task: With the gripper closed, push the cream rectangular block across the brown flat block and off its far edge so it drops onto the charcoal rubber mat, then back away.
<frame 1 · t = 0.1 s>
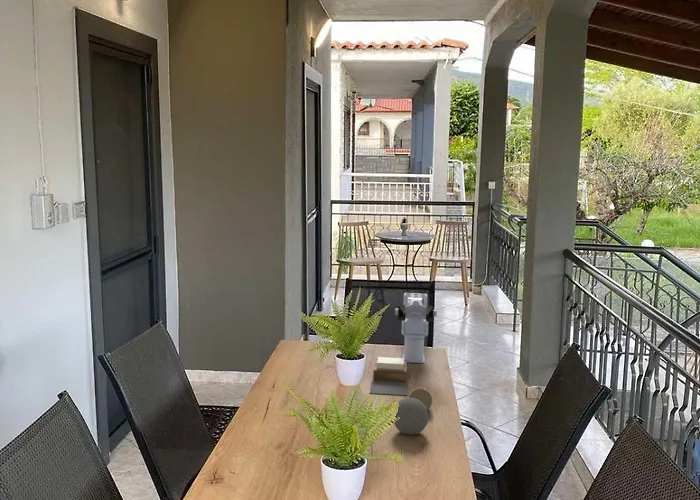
hand: (415, 317, 222), 22 cm above the table, tool horizontal, fingers open, 7 cm apart
mat: (389, 388, 215), on the table
tan short cylinder: (419, 407, 201), on the table
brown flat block: (390, 376, 226), on the table
cream rectangular block: (390, 366, 225), point 4 cm above the table, touching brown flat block
decorative ball: (409, 433, 183), on the table
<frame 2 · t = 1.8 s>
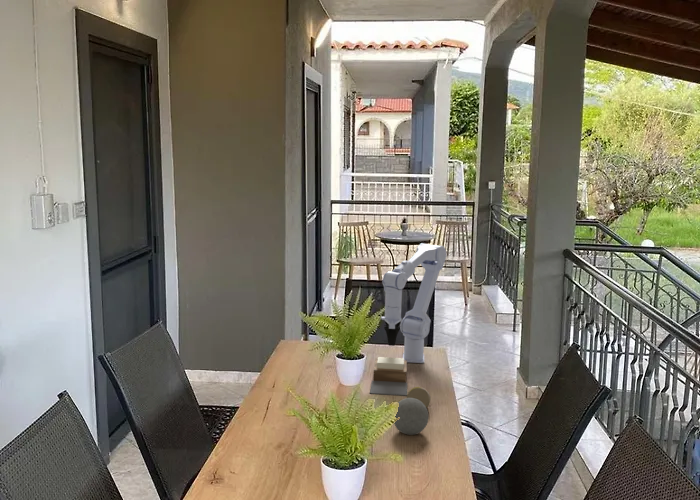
hand: (391, 343, 231), 10 cm above the table, tool pointing down, fingers open, 5 cm apart
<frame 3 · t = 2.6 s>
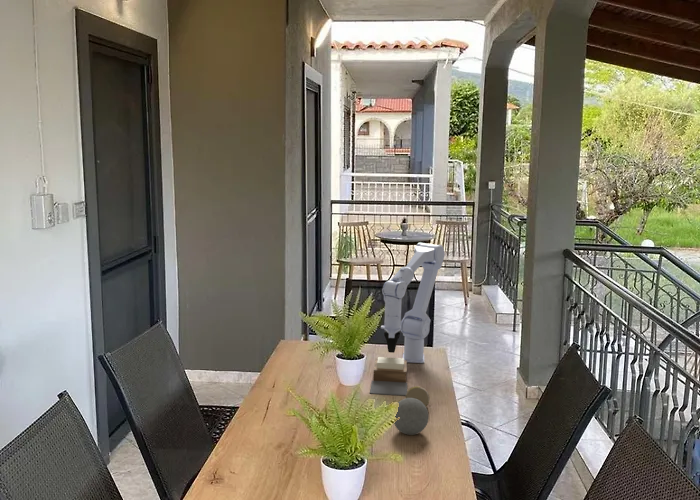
hand: (391, 351, 232), 7 cm above the table, tool pointing down, fingers closed
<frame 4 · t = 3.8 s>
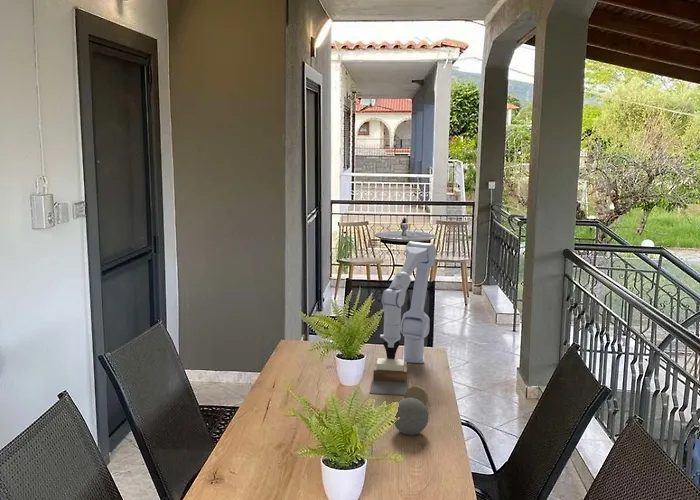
hand: (390, 361, 227), 5 cm above the table, tool pointing down, fingers closed
cream rectangular block: (390, 367, 224), point 4 cm above the table, touching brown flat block
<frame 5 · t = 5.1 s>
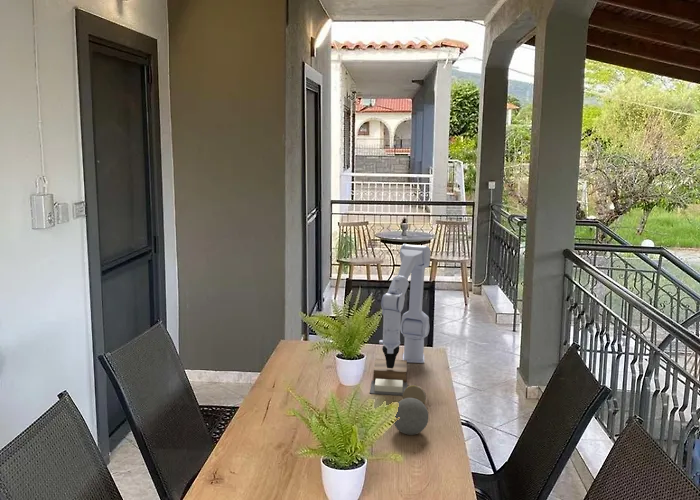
hand: (390, 367, 221), 5 cm above the table, tool pointing down, fingers closed
cream rectangular block: (388, 382, 214), point 2 cm above the table, tilted 180°, touching mat
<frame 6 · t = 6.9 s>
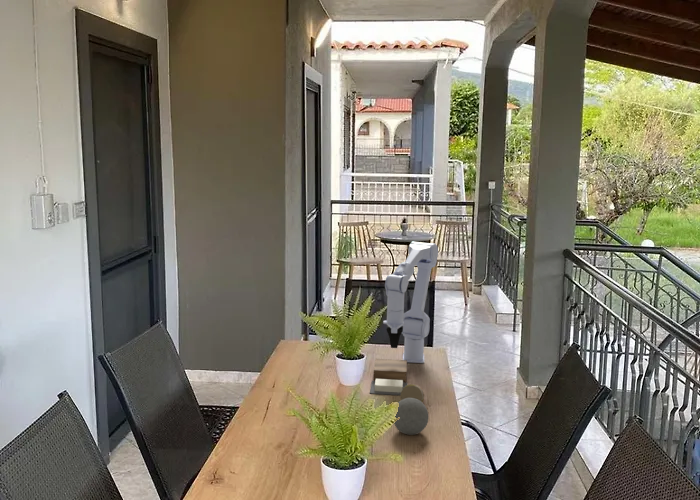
hand: (394, 347, 226), 10 cm above the table, tool pointing down, fingers closed
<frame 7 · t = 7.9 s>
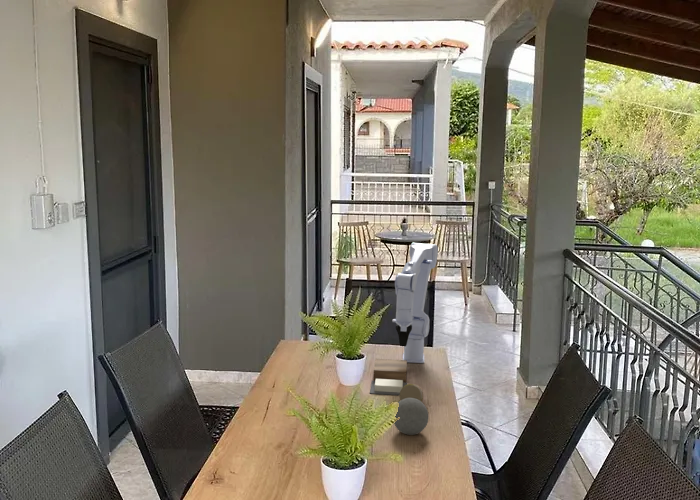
hand: (403, 345, 228), 10 cm above the table, tool pointing down, fingers closed
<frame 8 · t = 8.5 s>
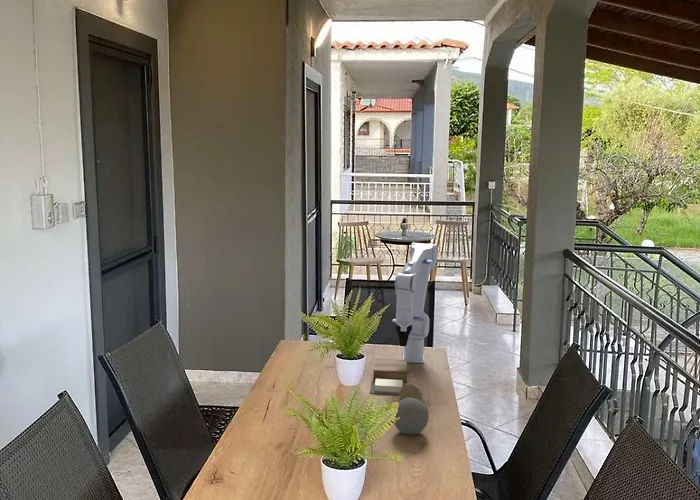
hand: (403, 345, 228), 10 cm above the table, tool pointing down, fingers closed
at the end: cream rectangular block point 2.3 cm above the table; cream rectangular block inside the target area on the mat (0.8 cm from its centre), point 2.3 cm above the mat's base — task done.
